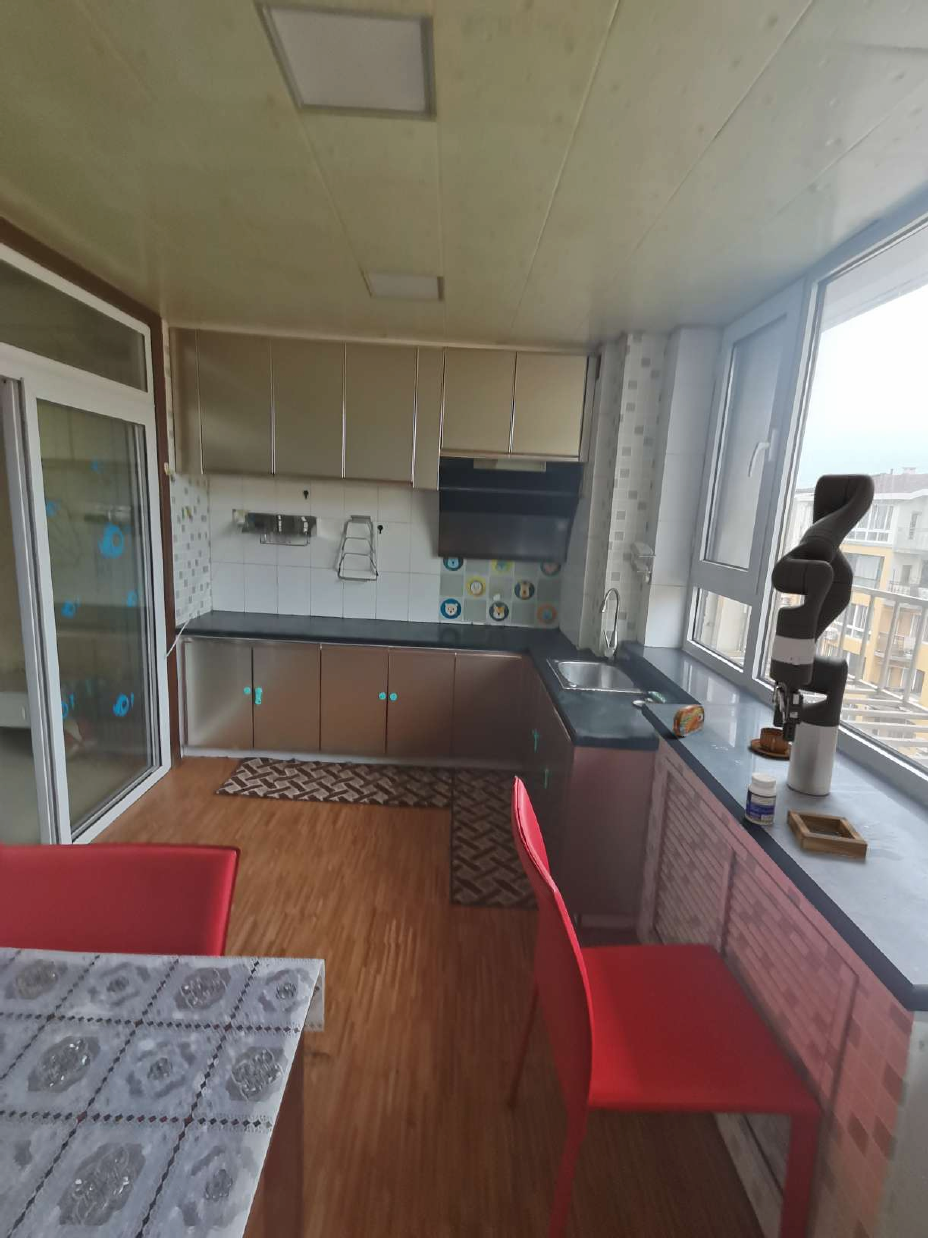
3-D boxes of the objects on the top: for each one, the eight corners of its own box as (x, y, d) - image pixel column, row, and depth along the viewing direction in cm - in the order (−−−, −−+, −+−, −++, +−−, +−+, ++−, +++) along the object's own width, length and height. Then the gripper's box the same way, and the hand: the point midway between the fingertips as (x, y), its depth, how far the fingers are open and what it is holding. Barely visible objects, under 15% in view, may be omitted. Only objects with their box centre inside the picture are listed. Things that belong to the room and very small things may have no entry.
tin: (679, 740, 175) (682, 712, 174) (670, 737, 178) (672, 710, 176) (704, 729, 185) (706, 703, 184) (694, 726, 187) (697, 701, 186)
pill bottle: (748, 810, 133) (753, 768, 131) (776, 819, 129) (781, 776, 127) (741, 820, 128) (746, 776, 126) (770, 829, 125) (775, 785, 123)
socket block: (786, 823, 127) (788, 810, 127) (843, 830, 125) (845, 817, 124) (803, 850, 117) (805, 836, 116) (865, 858, 114) (867, 844, 114)
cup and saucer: (803, 763, 161) (806, 741, 160) (755, 758, 163) (758, 737, 162) (788, 747, 173) (791, 726, 172) (744, 742, 175) (746, 723, 174)
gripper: (765, 649, 128) (757, 720, 130) (779, 664, 114) (769, 743, 117) (803, 652, 125) (794, 724, 128) (822, 668, 112) (812, 748, 115)
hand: (782, 733), depth 123 cm, fingers open, 8 cm apart
